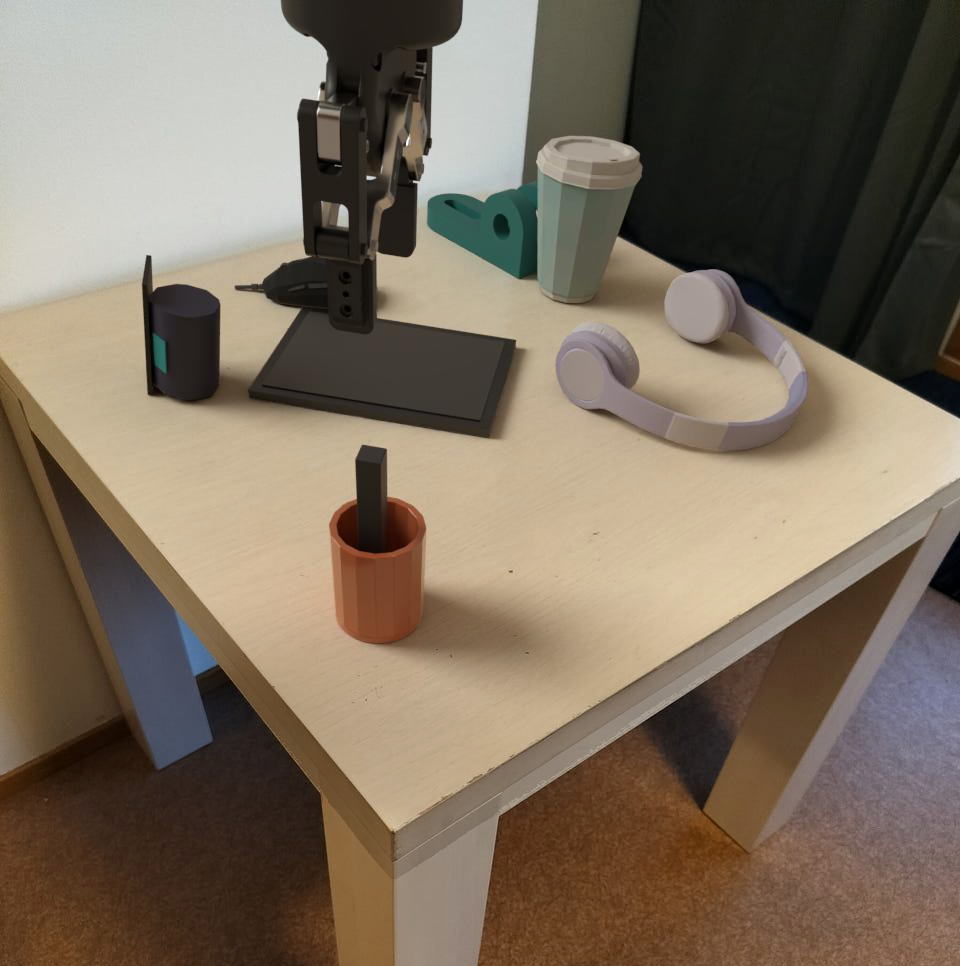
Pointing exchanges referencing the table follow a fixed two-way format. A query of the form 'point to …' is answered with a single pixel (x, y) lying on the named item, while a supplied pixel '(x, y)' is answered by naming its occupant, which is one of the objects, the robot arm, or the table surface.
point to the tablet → (389, 373)
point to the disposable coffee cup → (581, 211)
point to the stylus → (372, 499)
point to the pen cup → (379, 574)
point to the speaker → (180, 338)
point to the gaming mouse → (296, 283)
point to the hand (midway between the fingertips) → (375, 288)
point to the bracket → (492, 226)
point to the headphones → (699, 318)
